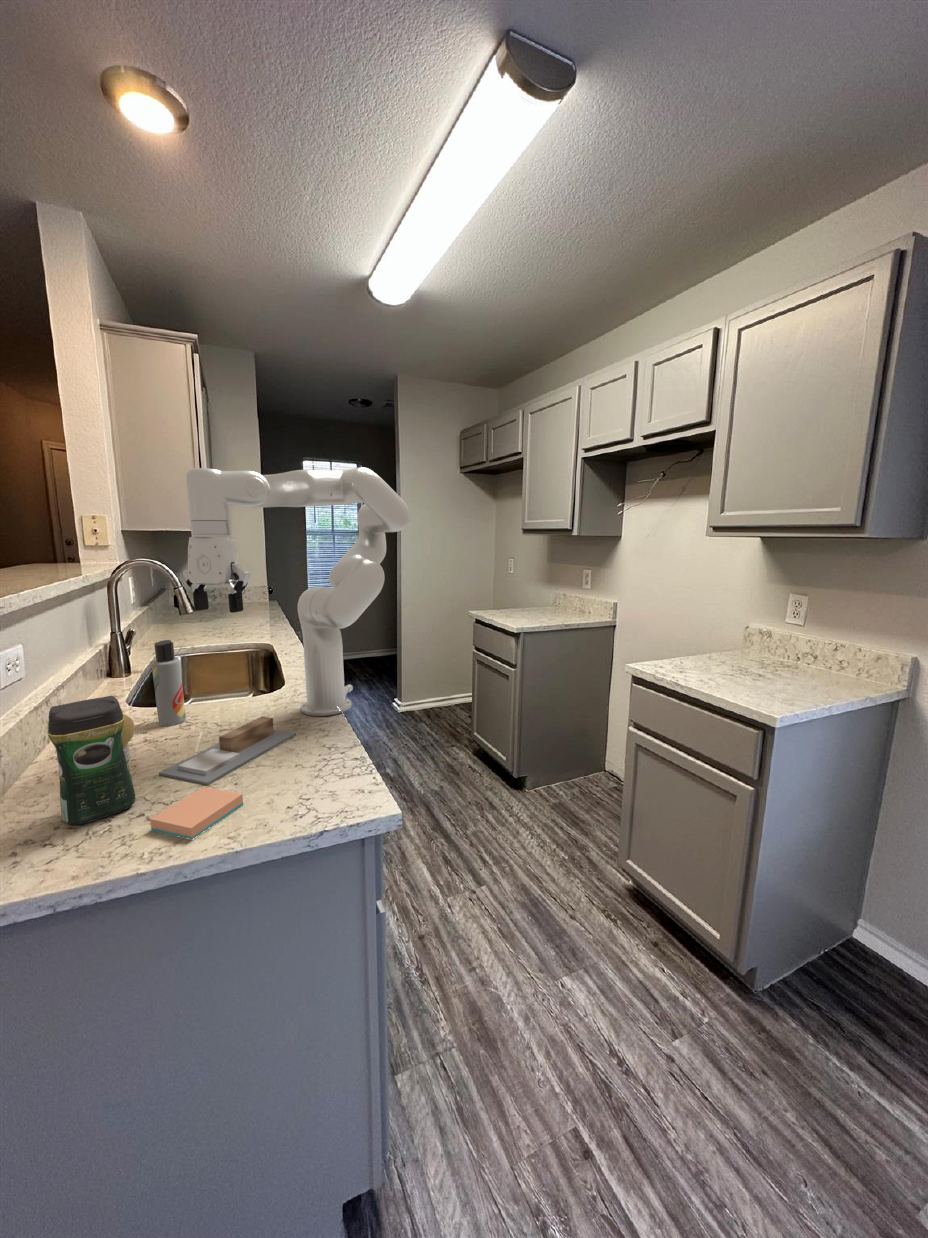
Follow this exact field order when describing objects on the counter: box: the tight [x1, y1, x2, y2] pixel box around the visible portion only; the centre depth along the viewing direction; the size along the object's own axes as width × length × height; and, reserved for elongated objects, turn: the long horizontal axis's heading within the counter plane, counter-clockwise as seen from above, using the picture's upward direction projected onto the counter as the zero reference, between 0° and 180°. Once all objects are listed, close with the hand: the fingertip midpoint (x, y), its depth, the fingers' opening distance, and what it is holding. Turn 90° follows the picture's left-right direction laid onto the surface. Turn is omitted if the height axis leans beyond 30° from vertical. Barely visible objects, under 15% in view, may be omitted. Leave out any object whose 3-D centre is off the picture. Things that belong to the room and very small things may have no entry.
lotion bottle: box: [151, 639, 187, 727], centre depth 116 cm, size 6×6×20 cm
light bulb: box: [122, 714, 136, 763], centre depth 95 cm, size 6×6×10 cm
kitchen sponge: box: [149, 786, 244, 839], centre depth 76 cm, size 2×8×10 cm
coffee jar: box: [47, 695, 136, 826], centre depth 77 cm, size 10×8×19 cm
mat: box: [158, 728, 297, 786], centre depth 100 cm, size 24×12×1 cm, turn 160°
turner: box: [178, 716, 275, 775], centre depth 99 cm, size 20×7×4 cm, turn 160°
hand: (219, 610), depth 104 cm, fingers open, 9 cm apart
